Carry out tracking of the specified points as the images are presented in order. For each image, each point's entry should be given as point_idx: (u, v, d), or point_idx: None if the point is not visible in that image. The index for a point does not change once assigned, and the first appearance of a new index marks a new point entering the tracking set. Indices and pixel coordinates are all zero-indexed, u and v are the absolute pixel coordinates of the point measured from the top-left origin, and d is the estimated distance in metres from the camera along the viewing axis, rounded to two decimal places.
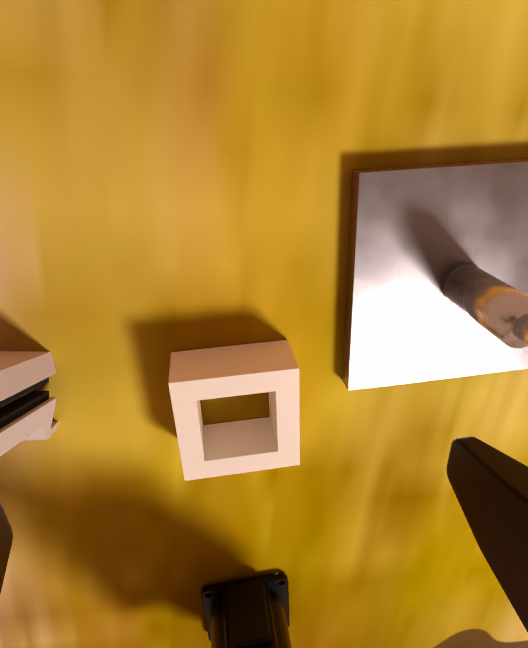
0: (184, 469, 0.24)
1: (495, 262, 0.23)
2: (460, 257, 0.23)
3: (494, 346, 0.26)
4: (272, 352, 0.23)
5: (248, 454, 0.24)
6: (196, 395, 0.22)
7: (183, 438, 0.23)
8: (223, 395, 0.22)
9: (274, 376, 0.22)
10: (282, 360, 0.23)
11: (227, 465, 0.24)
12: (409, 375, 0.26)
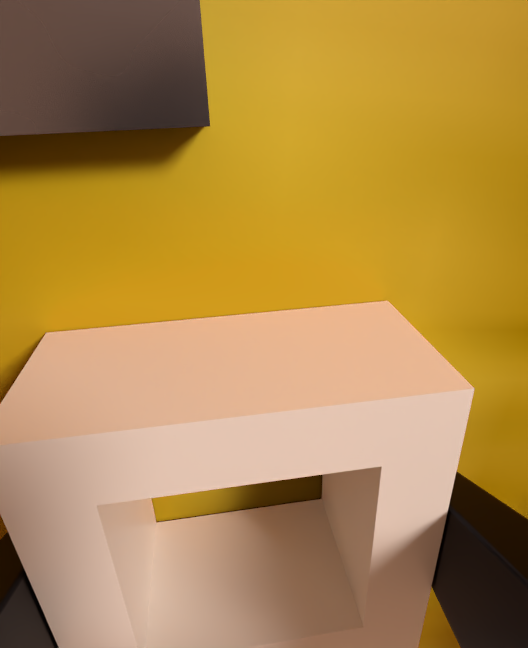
0: None
1: None
2: None
3: None
4: None
5: (373, 535, 0.07)
6: None
7: None
8: (122, 622, 0.07)
9: (27, 517, 0.06)
10: None
11: (397, 583, 0.08)
12: None
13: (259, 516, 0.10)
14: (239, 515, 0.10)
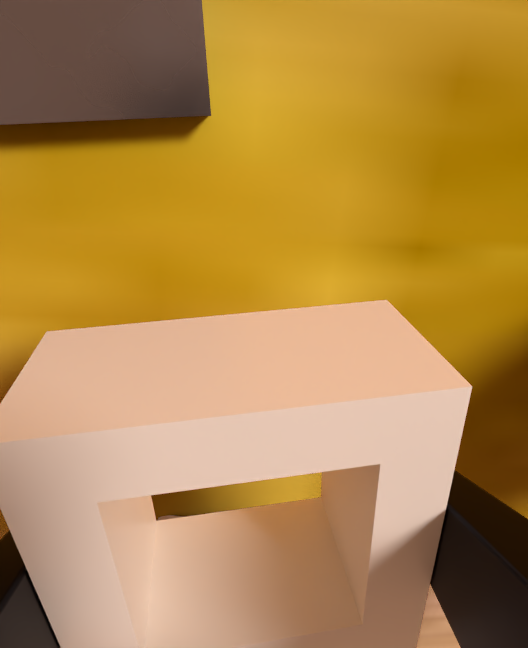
0: None
1: None
2: None
3: None
4: None
5: (371, 532, 0.07)
6: None
7: None
8: (123, 619, 0.07)
9: (28, 514, 0.06)
10: None
11: (395, 580, 0.08)
12: None
13: (259, 514, 0.10)
14: (239, 513, 0.11)
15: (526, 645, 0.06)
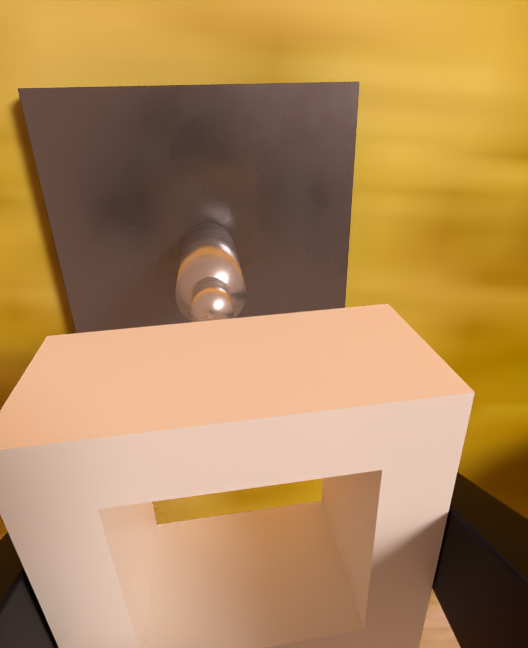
0: None
1: (179, 210, 0.17)
2: (173, 260, 0.18)
3: (308, 177, 0.18)
4: None
5: (373, 538, 0.07)
6: None
7: None
8: (123, 624, 0.07)
9: (29, 520, 0.06)
10: None
11: (397, 585, 0.08)
12: (334, 292, 0.20)
13: (260, 518, 0.10)
14: (240, 517, 0.10)
15: (526, 645, 0.06)
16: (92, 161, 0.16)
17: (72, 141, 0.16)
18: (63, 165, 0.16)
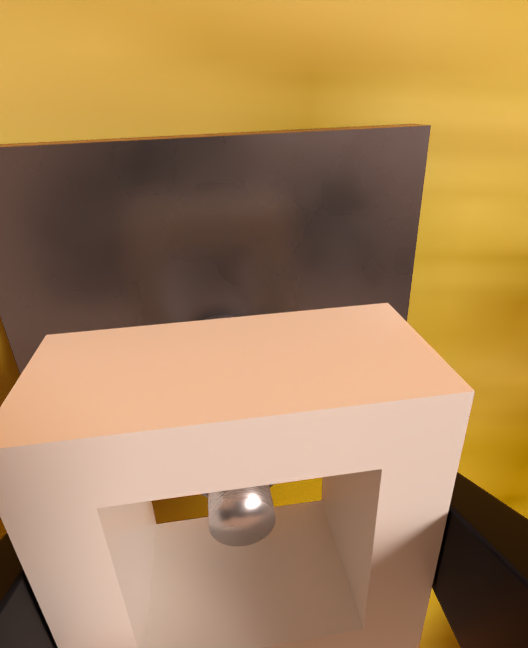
0: None
1: (181, 301, 0.13)
2: None
3: (356, 252, 0.13)
4: None
5: (373, 537, 0.07)
6: None
7: None
8: (122, 624, 0.07)
9: (28, 519, 0.06)
10: None
11: (397, 585, 0.08)
12: None
13: None
14: None
15: (526, 645, 0.06)
16: (58, 244, 0.12)
17: (29, 218, 0.11)
18: (17, 251, 0.12)
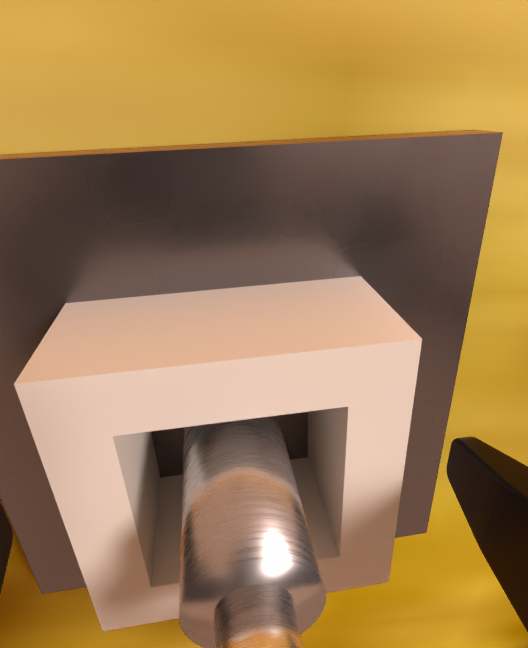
0: (354, 585, 0.10)
1: None
2: None
3: (399, 291, 0.10)
4: None
5: (344, 470, 0.08)
6: (134, 588, 0.09)
7: None
8: (133, 544, 0.08)
9: (56, 445, 0.07)
10: None
11: (367, 514, 0.09)
12: (425, 449, 0.13)
13: None
14: None
15: None
16: (19, 286, 0.09)
17: None
18: None
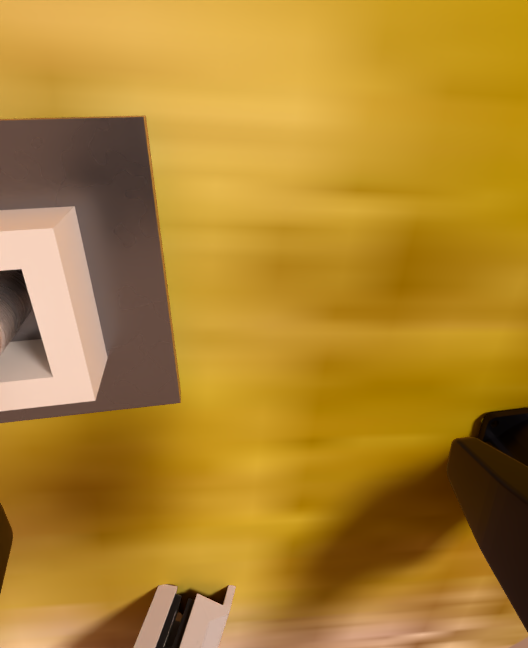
0: (71, 401, 0.16)
1: None
2: None
3: (105, 217, 0.16)
4: None
5: (37, 314, 0.14)
6: None
7: (7, 404, 0.16)
8: None
9: None
10: None
11: (61, 346, 0.15)
12: (158, 334, 0.19)
13: (29, 342, 0.18)
14: (17, 342, 0.18)
15: None
16: None
17: None
18: None
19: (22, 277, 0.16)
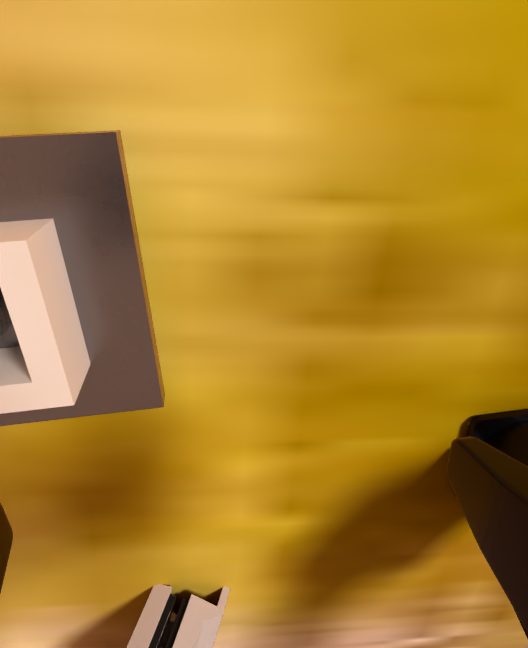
0: (51, 405, 0.17)
1: None
2: None
3: (83, 228, 0.17)
4: None
5: (14, 322, 0.15)
6: None
7: None
8: None
9: None
10: None
11: (38, 353, 0.16)
12: (139, 340, 0.19)
13: (13, 349, 0.18)
14: (3, 349, 0.18)
15: None
16: None
17: None
18: None
19: None
